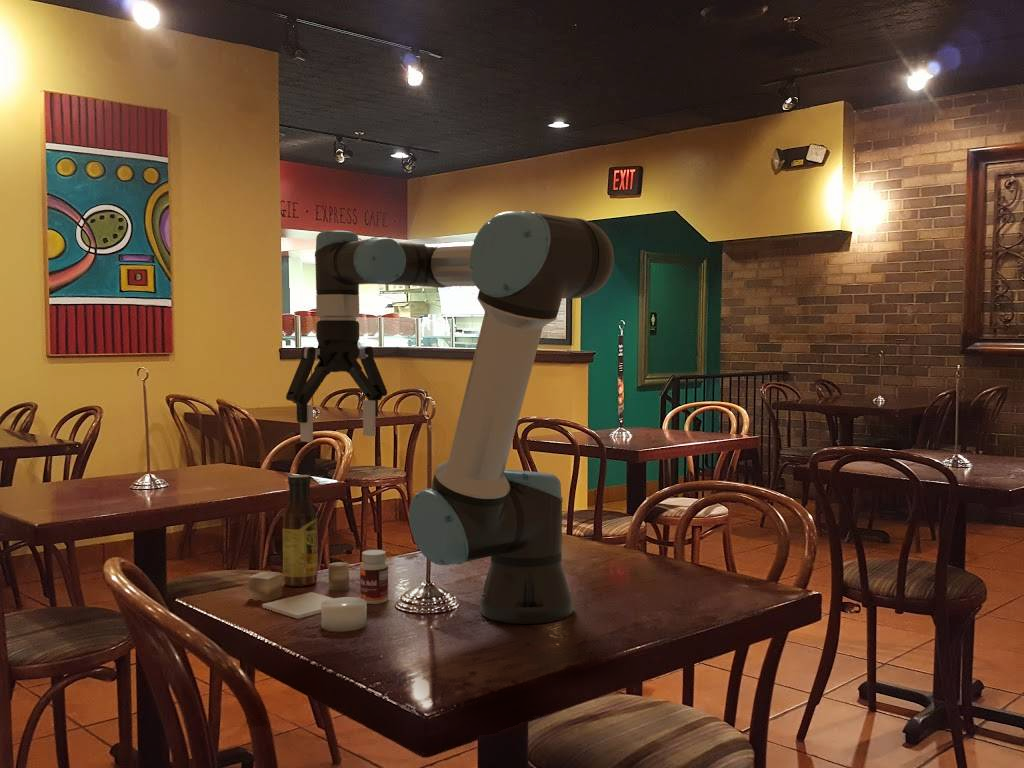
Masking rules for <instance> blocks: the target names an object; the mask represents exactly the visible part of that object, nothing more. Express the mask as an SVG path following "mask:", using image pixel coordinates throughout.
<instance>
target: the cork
mask: <svg viewBox="0 0 1024 768" xmlns="http://www.w3.org/2000/svg"><path fill="white" fill-rule="evenodd" d="M327 566H328V567H327V568H328V591H331V592H335V593H336V592H346V591H348V590H349V589H350V564H349V563H348V562H343V561H342V562H341V561H340V562H339V561H338V562H337V561H336V562H332V563H329V564H328V565H327Z"/></svg>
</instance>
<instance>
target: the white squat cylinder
mask: <svg viewBox="0 0 1024 768" xmlns="http://www.w3.org/2000/svg"><path fill="white" fill-rule="evenodd" d="M333 598H334V597H333ZM367 605H368V604H367V602H366V601H365V600H364V599H361V598H359V597H354V596H353V597H351V596H345V597H335V598H334V599H329V600H326V601H324V602H323V603H322V604H321V613H320V618H321V622H320V623H321V628H322V629H323V630H325V631H329V632H338V633H339V632H351V631H357V630H360V629H363V628H365V627H366V626H367V623H368V622H367V621H368V619H367V617H368V616H367V615H368V613H367V611H368V609H367V608H368V607H367Z"/></svg>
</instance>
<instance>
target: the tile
mask: <svg viewBox="0 0 1024 768" xmlns="http://www.w3.org/2000/svg"><path fill="white" fill-rule="evenodd" d="M329 599H334V597H330V596H327V595H325V594H324V595H323V594H319V593H317V592H313V591H310V592H306V593H302V594H298V595H294V596H289V597H285V598H281V599H276V600H274V601H273V600H272V601H269V602H265V603H262V604H261V608H262V607H263V609H265V608H266V609H265V610H268V609H269V611H271V610H272V612H275V613H278V614H282V615H284V616H287V617H290V618H294V619H297V620H300V619H303V618H306V617H310V616H314V615H318V614H321V604H322V603H323V602H324V601H326V600H329Z"/></svg>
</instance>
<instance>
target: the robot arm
mask: <svg viewBox="0 0 1024 768" xmlns="http://www.w3.org/2000/svg"><path fill="white" fill-rule="evenodd" d="M607 235H608V234H606V233H605V232H604V230H603V229H601V228H600V227H599V226H598V225H596V224H594V223H593V222H590V220H586V219H584V218H577V217H565V216H560V215H553V214H546V213H539V212H534V211H529V210H521V211H503V212H501V213H498V214H496V215H494V216H493V217H492V218H491V219H489V220H487V221H485V223H484V224H483V225H482V227H481V228H480V229H479V230H478V232H477V234H476V235H475V237H474V240H473V241H466V242H465V241H464V242H463V241H462V242H448V243H446V242H445V243H419V242H418V243H417V242H408V241H407V242H406V241H405V242H404V241H396V240H395V239H393V238H390V237H377V236H374V237H371V238H368V239H359V236H358V234H357V233H356V232H353V231H347V230H324V231H320V232H319V233H318V234H317V235H316V238H315V252H314V260H315V261H314V262H315V263H314V264H315V290H316V293H315V294H316V295H315V297H316V298H315V301H316V310H315V311H316V315H315V316H316V317H317V318H319V320H317V322H316V323H315V324H316V326H315V327H316V330H315V332H316V337H315V338H316V340H317V343H318V344H317V348H316V347H315V346H303V347H302V349H301V355H300V361H299V364H298V366H297V368H296V371H295V373H294V376H293V378H292V380H291V384H290V386H289V388H288V390H287V393H286V396H285V398H286V400H287V401H290V402H292V403H293V404H296V421H297V423H300V424H299V425H300V433H299V434H300V435H299V436H300V439H299V440H300V442H304V443H305V442H306V443H314V410H313V409H314V407H313V406H314V405H313V404H310V403H309V402H310V401H311V400H312V398H313V396H314V395H315V393H316V392H317V390H318V389H319V387H320V386H321V385H322V383H323V382H324V381H325V378H326V377H327V376H329V375H330V374H331V373H339V372H343V373H345V372H346V373H347V374H349V375H350V377H351V378H352V379H353V381H354V382H355V384H356V385H357V386H358V388H359V389H360V391H361V392H362V394H364V397H365V398H366V399H363V400H362V426H363V427H362V436H368V437H376V418H378V417H379V416H378V415H379V401H381V400H382V399H383V397H386V396H387V395H388V391H387V388H386V385H385V383H384V381H383V378H382V375H381V373H380V370H379V368H378V366H377V363H376V361H375V357H374V350H373V347H372V346H366V345H363V346H359V345H358V342H359V340H360V322H359V320H357V318H359V317H360V291H359V290H360V285H385V286H386V285H388V286H389V285H391V286H392V285H393V286H408V287H409V286H417V287H427V288H428V287H431V288H437V289H438V288H441V289H442V288H450V287H476V288H477V289H478V294H477V301H478V303H480V306H482V308H483V311H484V315H483V317H482V323H481V326H480V331H479V334H478V339H477V343H476V346H475V352H474V354H473V359H472V362H471V367H470V370H469V375H468V379H467V382H466V387H465V391H464V395H463V399H462V403H461V408H460V412H459V415H458V420H457V423H456V427H455V431H454V436H453V440H452V443H451V448H450V451H449V456H448V459H447V460H446V461H443V462H442V463H440V464H438V465H437V466H436V468H435V470H434V475H433V479H432V482H431V486H430V488H427V487H426V488H423V489H421V490H420V491H418V492H417V493H415V494H414V496H413V497H412V499H411V501H410V504H409V509H408V521H409V528H410V532H411V535H412V537H413V540H414V543H415V545H416V547H417V548H418V549H419V552H420V553H421V554H422V555H423V556H424V557H425V558H426V559H427V560H428V561H430V562H431V563H433V564H435V565H438V566H449V565H462V564H464V563H466V562H472V561H475V560H480V559H484V558H489V557H490V565H489V569H488V573H487V575H486V579H485V583H484V587H483V591H482V593H480V594H481V595H480V598H479V602H480V604H479V607H480V608H479V609H480V610H479V611H480V614H481V615H482V616H484V617H485V618H487V619H489V620H493V621H496V622H501V623H506V624H507V623H508V624H521V625H522V624H523V625H526V624H527V625H528V624H529V625H531V624H532V625H533V624H543V623H545V624H546V623H551V622H557V621H559V620H563V619H566V618H568V617H569V616H571V615H572V613H573V611H574V608H573V607H574V606H573V604H574V603H573V596H572V593H571V592H570V588H569V584H568V580H567V578H566V574H565V571H564V568H563V564H562V563H563V561H562V560H563V559H562V557H563V556H562V555H563V554H562V551H563V550H562V549H563V538H562V537H563V536H562V535H563V499H564V498H563V497H562V484H561V481H560V479H559V478H558V476H556V475H555V474H553V473H547V472H539V471H532V470H519V469H507V468H506V466H507V462H508V459H509V455H510V451H511V449H512V445H513V442H514V441H513V440H514V437H515V433H516V429H517V425H518V422H519V417H520V414H521V410H522V408H523V407H522V406H523V403H524V399H525V396H526V392H527V389H528V385H529V381H530V377H531V373H532V369H533V366H534V363H535V358H536V354H537V351H538V347H539V344H540V340H541V336H542V333H543V328H544V327H545V326H547V325H549V324H550V323H553V322H554V321H555V320H557V317H558V316H559V315H558V314H559V310H560V308H561V304H562V300H563V299H565V300H567V299H569V300H570V299H571V300H572V299H581V298H585V297H588V296H591V295H593V294H595V293H596V292H598V291H599V290H600V289H602V287H604V286H605V284H607V282H608V280H609V278H610V277H611V274H612V272H613V268H614V264H615V254H614V248H613V245H612V242H611V240H610V239H609V237H608V236H607ZM317 358H318V362H317V364H316V365H315V366H314V364H315V361H316V359H317ZM358 358H359V359H360V362H359V361H358V360H357V359H358ZM360 363H361V364H360ZM361 365H362V366H361ZM313 367H314V369H313ZM312 369H313V371H312ZM363 369H364V371H363ZM311 373H312V374H311ZM310 374H311V375H310ZM309 376H310V377H309Z"/></svg>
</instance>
